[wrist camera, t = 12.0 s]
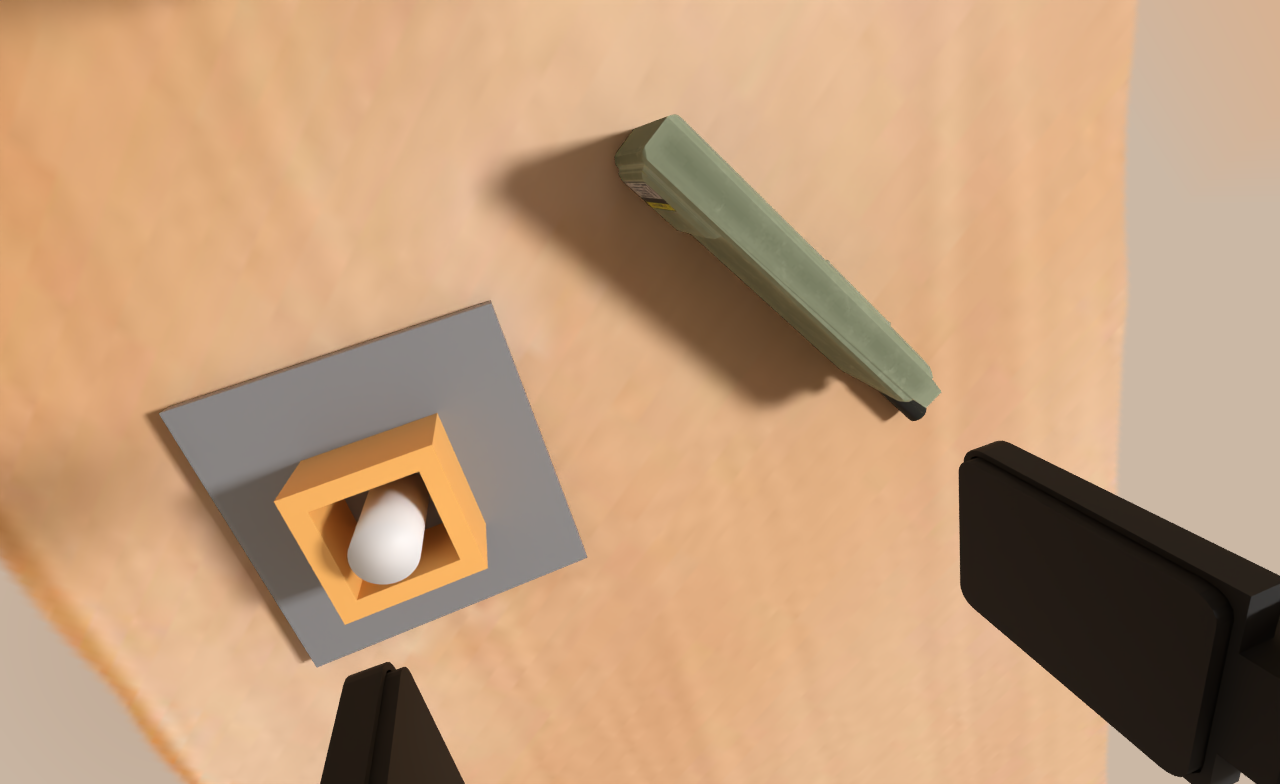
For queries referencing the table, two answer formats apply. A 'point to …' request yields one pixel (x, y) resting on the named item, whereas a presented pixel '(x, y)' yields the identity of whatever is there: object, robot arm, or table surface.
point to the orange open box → (363, 465)
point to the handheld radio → (771, 259)
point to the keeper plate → (363, 408)
